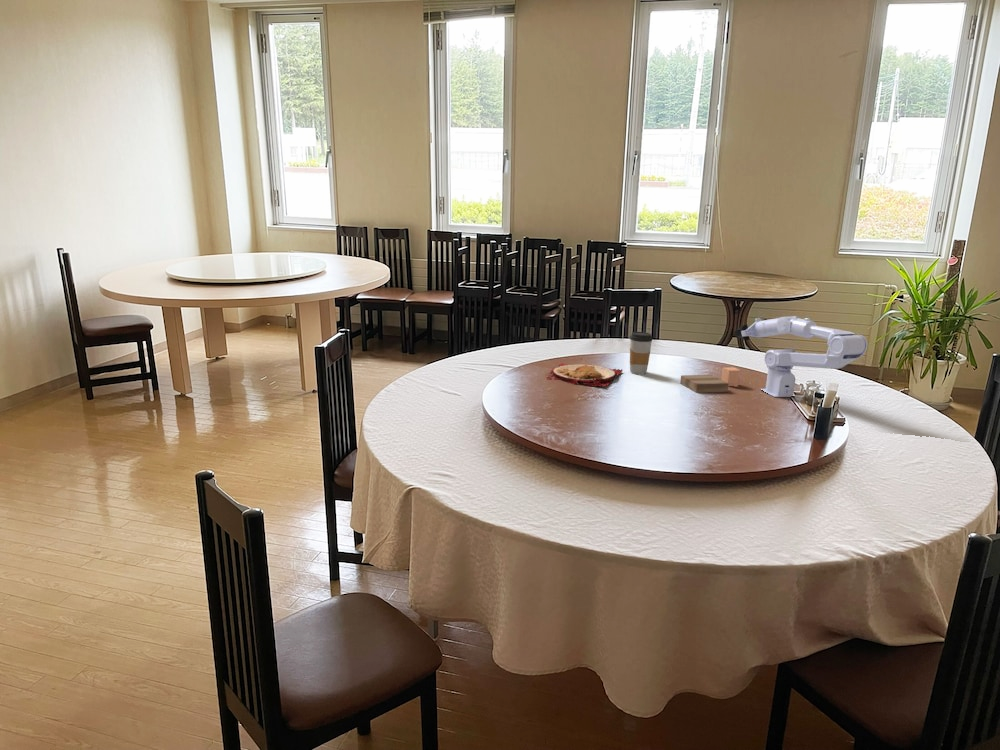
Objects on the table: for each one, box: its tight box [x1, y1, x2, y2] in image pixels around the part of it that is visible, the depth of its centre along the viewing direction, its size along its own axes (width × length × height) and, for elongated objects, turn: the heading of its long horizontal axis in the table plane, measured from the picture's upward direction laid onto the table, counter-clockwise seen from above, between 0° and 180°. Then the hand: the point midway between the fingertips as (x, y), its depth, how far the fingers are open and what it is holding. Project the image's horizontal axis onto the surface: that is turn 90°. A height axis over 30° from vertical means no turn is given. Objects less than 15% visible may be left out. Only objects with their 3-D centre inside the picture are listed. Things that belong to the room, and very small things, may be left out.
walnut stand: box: [680, 374, 729, 393], centre depth 251 cm, size 12×12×3 cm
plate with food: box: [545, 363, 623, 388], centre depth 260 cm, size 25×26×4 cm
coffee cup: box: [629, 331, 653, 375], centre depth 267 cm, size 8×8×15 cm
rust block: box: [720, 366, 742, 387], centre depth 256 cm, size 4×4×6 cm
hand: (743, 331), depth 261 cm, fingers open, 7 cm apart
